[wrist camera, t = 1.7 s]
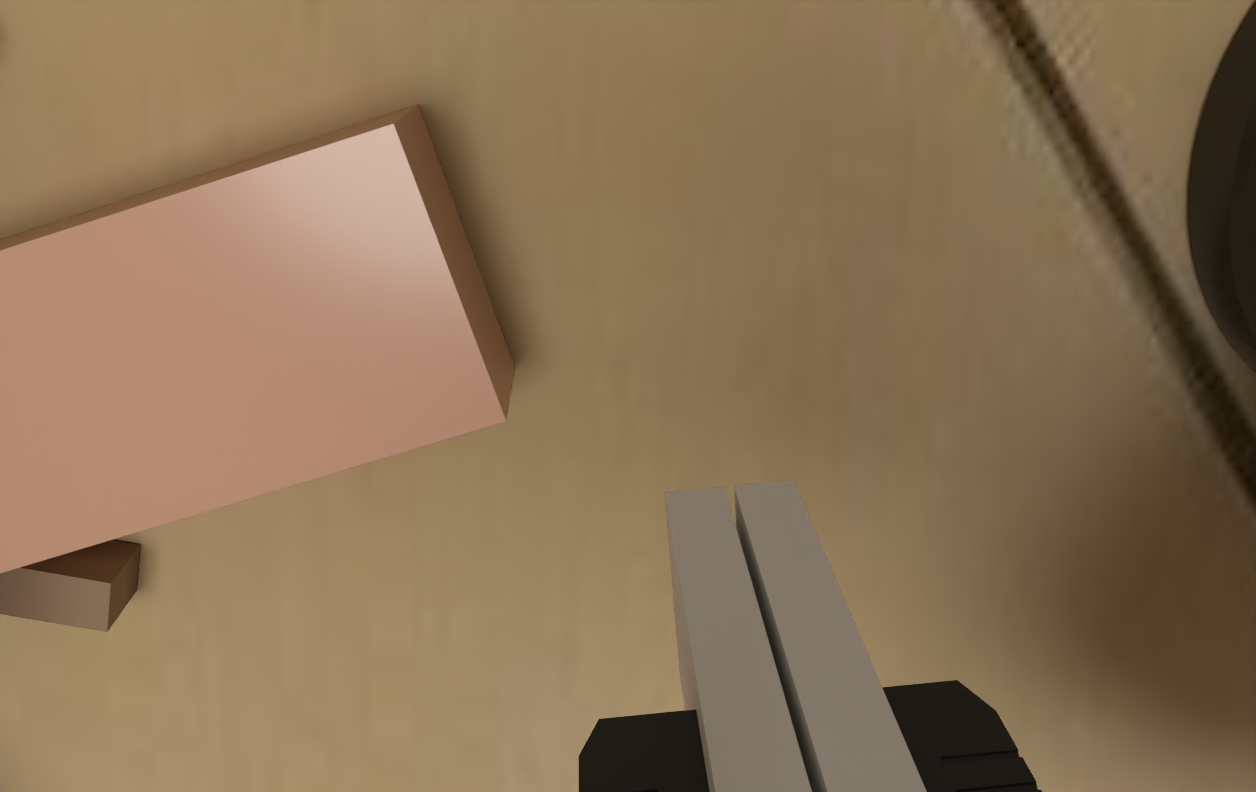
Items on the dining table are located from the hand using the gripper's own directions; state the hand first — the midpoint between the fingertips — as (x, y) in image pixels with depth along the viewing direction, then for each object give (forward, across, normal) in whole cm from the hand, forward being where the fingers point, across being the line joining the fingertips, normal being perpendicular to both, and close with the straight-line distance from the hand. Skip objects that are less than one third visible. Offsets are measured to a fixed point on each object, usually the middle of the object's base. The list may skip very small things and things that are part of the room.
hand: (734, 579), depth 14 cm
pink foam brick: (+15, +12, 0) cm, 19 cm away
